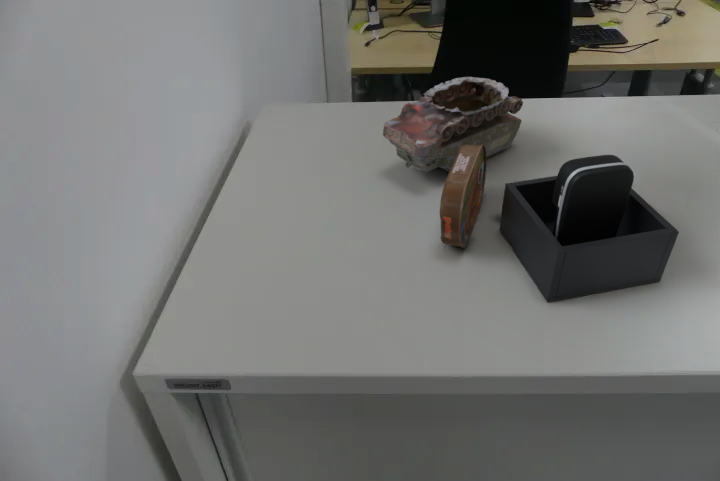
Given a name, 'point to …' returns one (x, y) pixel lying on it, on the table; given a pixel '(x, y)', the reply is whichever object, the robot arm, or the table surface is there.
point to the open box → (583, 244)
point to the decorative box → (454, 122)
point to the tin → (463, 195)
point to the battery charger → (590, 198)
